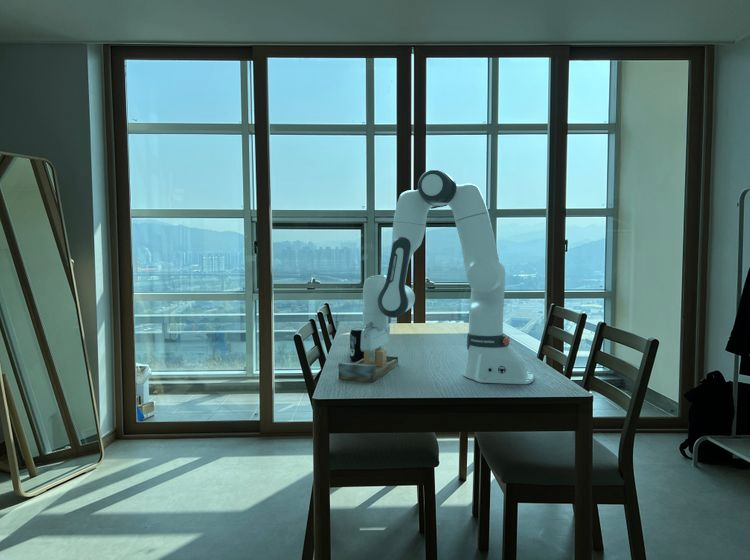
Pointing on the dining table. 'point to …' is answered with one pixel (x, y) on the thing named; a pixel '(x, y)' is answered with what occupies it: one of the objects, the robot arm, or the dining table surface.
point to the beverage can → (356, 344)
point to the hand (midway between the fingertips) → (375, 359)
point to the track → (365, 370)
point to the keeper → (380, 358)
